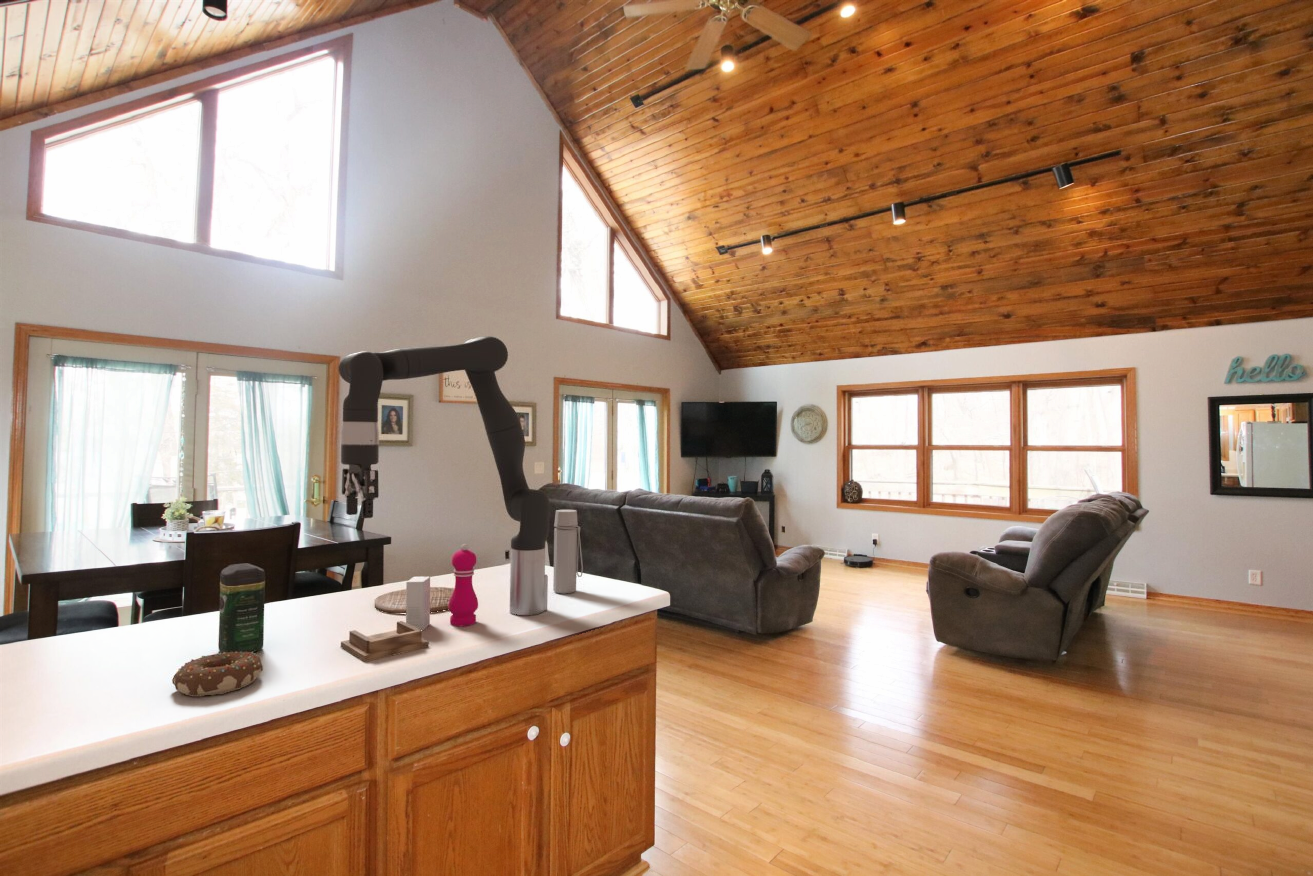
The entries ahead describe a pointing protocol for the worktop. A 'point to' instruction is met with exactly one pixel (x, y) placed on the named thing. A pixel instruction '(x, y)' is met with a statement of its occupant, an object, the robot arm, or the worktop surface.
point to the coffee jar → (241, 608)
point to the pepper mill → (463, 589)
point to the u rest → (385, 642)
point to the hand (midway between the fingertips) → (359, 516)
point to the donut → (217, 673)
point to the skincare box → (418, 602)
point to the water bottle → (566, 551)
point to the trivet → (397, 600)
